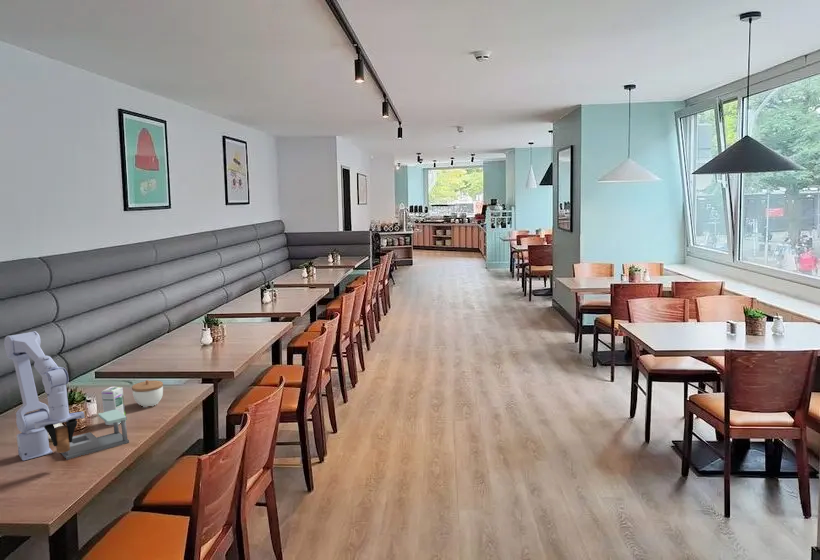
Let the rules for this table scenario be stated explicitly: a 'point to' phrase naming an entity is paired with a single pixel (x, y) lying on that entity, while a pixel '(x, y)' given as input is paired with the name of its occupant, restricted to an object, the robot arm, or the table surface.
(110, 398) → the syrup box
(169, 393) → the table surface
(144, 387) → the lidded bowl
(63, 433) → the peg
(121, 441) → the socket stand
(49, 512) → the table surface
